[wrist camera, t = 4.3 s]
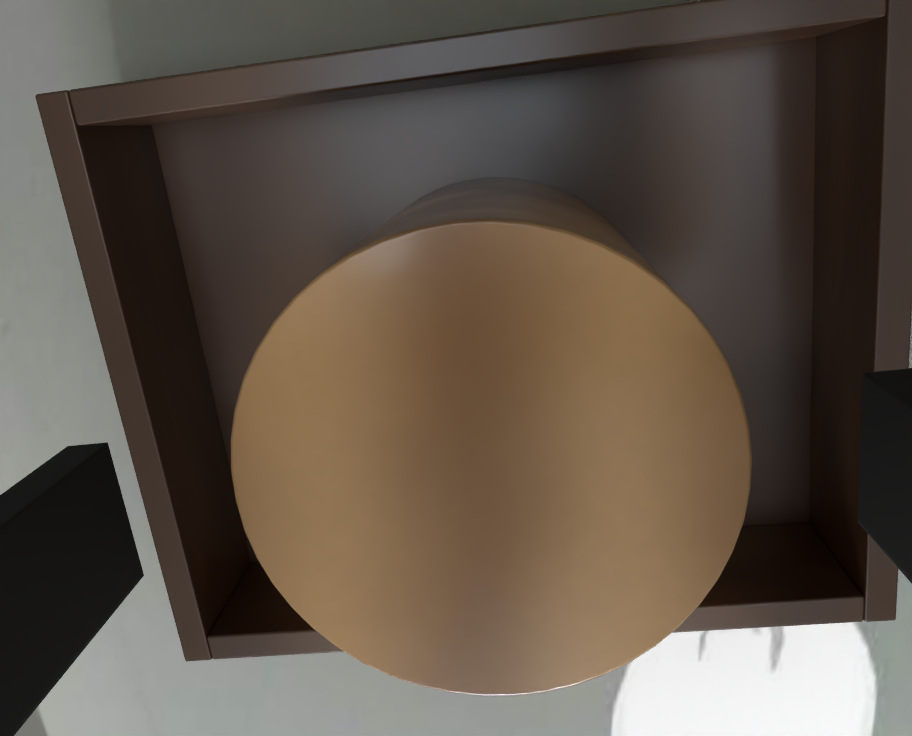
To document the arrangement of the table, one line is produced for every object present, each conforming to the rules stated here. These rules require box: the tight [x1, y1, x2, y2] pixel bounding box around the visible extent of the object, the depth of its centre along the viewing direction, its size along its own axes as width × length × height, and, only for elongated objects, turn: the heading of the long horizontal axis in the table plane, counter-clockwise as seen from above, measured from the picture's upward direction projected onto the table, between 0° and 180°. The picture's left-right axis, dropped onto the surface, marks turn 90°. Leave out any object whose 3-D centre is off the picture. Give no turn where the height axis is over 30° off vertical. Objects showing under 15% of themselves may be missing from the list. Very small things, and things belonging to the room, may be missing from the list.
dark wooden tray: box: [36, 0, 912, 661], centre depth 21 cm, size 20×16×4 cm
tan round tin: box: [231, 177, 752, 696], centre depth 18 cm, size 9×9×10 cm
